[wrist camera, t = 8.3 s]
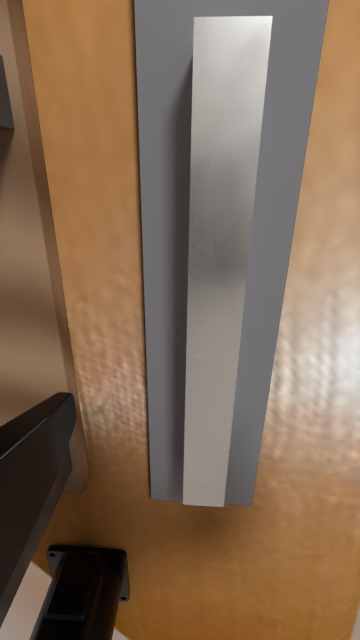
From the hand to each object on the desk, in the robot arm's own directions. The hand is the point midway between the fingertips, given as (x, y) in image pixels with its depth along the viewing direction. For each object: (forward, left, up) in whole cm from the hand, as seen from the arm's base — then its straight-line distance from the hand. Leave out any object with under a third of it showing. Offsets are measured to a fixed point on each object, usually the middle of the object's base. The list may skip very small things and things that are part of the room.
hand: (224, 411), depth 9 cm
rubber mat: (0, 0, -8) cm, 8 cm away
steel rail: (0, 0, -8) cm, 8 cm away
